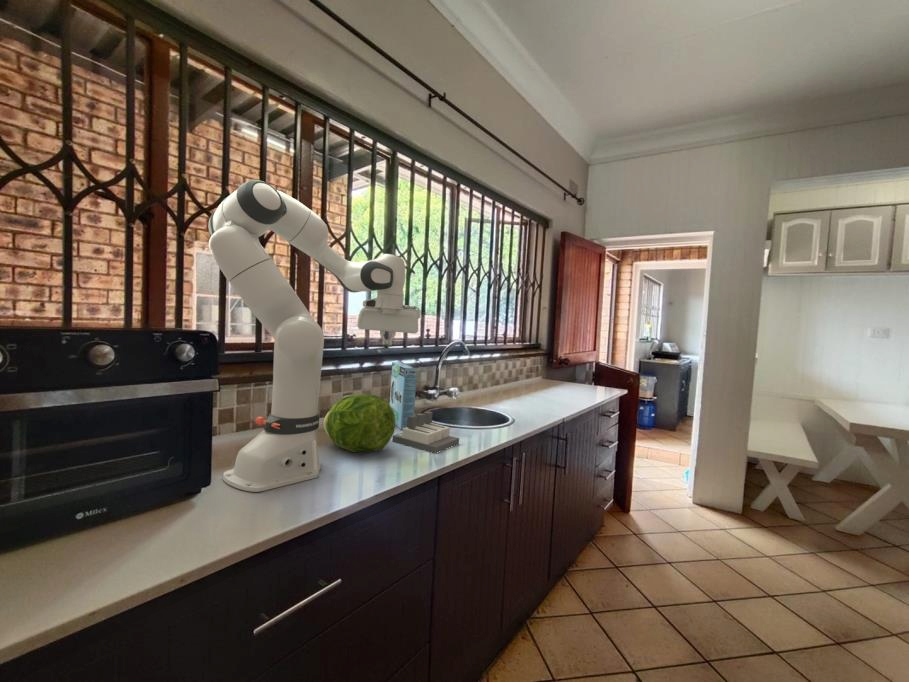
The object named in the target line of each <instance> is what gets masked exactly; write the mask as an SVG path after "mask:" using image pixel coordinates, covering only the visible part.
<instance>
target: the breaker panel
mask: <svg viewBox="0 0 909 682" xmlns="http://www.w3.org/2000/svg"><path fill="white" fill-rule="evenodd" d="M450 430H451V428H450V427H449V426H444V425H441V424H437V423H433V422H432V423H429V424H426V423H424V425H422V426H417V425H416V428H412V429H411V428H407V427H406V428H403V430H402V432H400V433H396V434H393V435H392V437H391V439H392V440H391V442H393V443H396V444H400V445H404V446H406V447H410V448H413V449H416V450H421V451H423V452H428V453H431V452H432V453H431V454H434V453H436V454H437V452H438V453H440V452H439V451H441V450H443V451H445V450H447V449H446V448H448V449H450V448H452V447H451V446H453V447H455V446H457V445H459V441H460V438H459V437H456V436H453V435H450V434H451V433H450ZM456 444H457V445H456ZM454 445H455V446H454ZM449 447H450V448H449ZM444 449H445V450H444ZM441 452H442V451H441Z"/></svg>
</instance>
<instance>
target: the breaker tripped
mask: <svg viewBox="0 0 909 682" xmlns="http://www.w3.org/2000/svg"><path fill="white" fill-rule="evenodd" d="M415 416H417V424H416V425H417V426H422V425H424V419H425V414H424V413H416V414H415Z"/></svg>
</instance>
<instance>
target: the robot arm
mask: <svg viewBox="0 0 909 682" xmlns="http://www.w3.org/2000/svg"><path fill="white" fill-rule="evenodd" d="M207 227H208V231H209V234H210V236H211V237H210V238H209V240H208V248H209V250H210V253H211V255H212V257H213V258H214V260H215V262H216V264H217V266H218V267H219V269H220V271H221V272H222V273H223V276H224V277H225V278H226V280H227V281H228V282H229V284H230V285H231V286H232V289H234V291H235V292H236V294H237V295H238V296H239V297H240V298H241V300H242V301H243V303H244V304H245V305H246V307H247V308H248V309H249V311H250V312H251V313H252V314H253V315H254V317H256V319H258V321H259V322H260V323H261V325H262V326H263V327H264V328H265V330H266V331H267V332H268V333H269V335H270V336H271V337H272V338H273V339H274V344H273V347H274V348H273V368H272V369H273V371H272V372H273V373H272V377H273V378H272V396H271V408H270V409H271V412H270V413H269V414H268V417H267V418H266V417H263V416H259V415H258V416H257V417H256V418H255V420H254V423H255V424H256V425H259V426H261V427H263V430H261V431H260V432H259V433H258V434H257V435H256V436H255V437H253V438H252V440H250V441H249V442H248V443H246V444H245V445H244V446H242V448H241V449H240V450H239V451H238V452H237V455H236V458H235V463H234V467H233V468H232V469H228V470H225V471H224V472H223V475H222V479H223V481H224V482H225V483H226V484H228V485H229V486H231V487H233V488H236V489H239V490H242V491H246V492H251V493H253V492H255V493H258V492H263V491H268V490H272V489H276V488H279V487H280V488H281V487H284V486H288V485H292V484H295V483H296V484H297V483H300V482H304V481H309V480H311V479H316V478H319V475H320V473H319V471H320V470H321V468H322V464H321V460H320V455H319V454H320V453H319V447H318V446H319V445H318V429H319V427H320V412H319V400H320V388H321V387H320V385H321V377H322V376H321V375H322V366H323V356H324V345H325V336H324V332H323V329H322V327H321V326H320V325H319V323H318V322H316V320H315V319H314V317H313V316H312V314H311V313H310V311H309V310H308V309H307V307H306V306H305V304H304V303H303V301H302V300H301V299H300V297H299V295H298V294H297V293H296V291H295V289H293V287H292V286H291V283H289V281H288V280H287V279H286V277H285V276H284V274H283V272H282V271H281V269H280V268H279V267H278V266H277V264H276V263H275V262H274V259H272V257H271V256H270V254H269V253H268V252H267V251H266V249H265V248H264V247H263V246H262V244H261V242H260V239H259V238H260V237H261V236H263V235H264V234H265V233H266V232H268V231H271V232H273V233H275V234H276V235H277V236H278V237H280V238H282V240H284V241H286V242H287V243H289V244H290V245H292V246H293V247H295V248H296V249H298V250H299V251H301V252H302V253H305V254H306V255H307V256H309V257H310V258H311V259H312V260H314V261H315V262H316V263H318V264H319V265H320V266H321V267H323V268H324V269H325V270H327V271H328V272H330V274H332V275H333V276H334V277H335V278H336V279H337V281H338V282H339V284H340V286H341V287H342V288H343V289H344V290H345V291H347V292H349V293H353V294H354V293H360V292H375V291H377V292H376V294H377V295H376V297H375V298H373V297H372V298H369V299H365V300H363V301H362V308H361V309H360V311H359V313H358V317H357V328H358V329H359V330H368V331H379V336H380V338H381V340H382V345H383V346H392V345H393V339H395V337H396V335H397V333H406V334H417V333H418V332H419V319H420V318H421V310H420V309H421V308H419V307H417V305H408V304H407V305H406V304H404V299H405V295H404V287H405V285H406V284H405V282H406V265H405V261H404V259H403V258H402V257H401V256H399V255H396V254H392V253H384V254H382V255H381V256H378V257H377V258H374V259H370V260H365V261H350V260H348V259H345V258H344V257H343V256H342V255H341V254H340V253H338V252H337V251H335V250H334V249H333V248H332V247H331V246H330V245H329V244H328V240H329V228H328V224H326V223H325V221H324V220H323V219H322V218H321V217H320V216H319V215H318V214H316V213H315V212H314V211H313V210H312V209H310V208H309V207H307V206H306V205H304V204H303V203H301V202H300V201H299V200H297V199H296V198H293V197H292V196H290V195H288V194H286V193H285V192H283V191H280V190H277V189H276V188H275V187H274V186H273V185H272V184H269V183H268V182H265V181H262V180H259V179H251V180H247V181H245V182H243V183H242V184H241V185H239V186H238V187H237V189H236V190H235V191H233V192H232V193H231V194H230V195H228V196H227V197H225V198H224V199H223V200H222V201H221V203H220V204H219V205H218V206H217V208H216V210H214V211H213V212H212V214H211V215H210V218H209V221H208V225H207ZM386 332H390V335H391V337H390V339H386V338H385V336H384V335H385V333H386Z"/></svg>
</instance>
